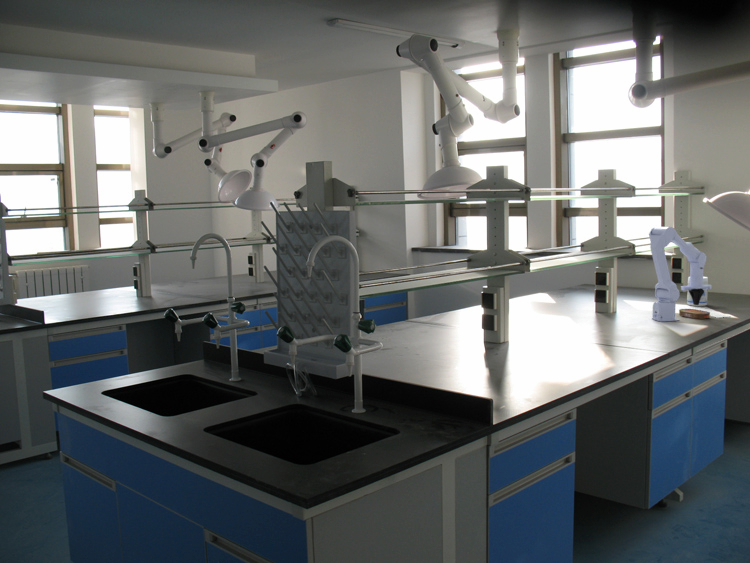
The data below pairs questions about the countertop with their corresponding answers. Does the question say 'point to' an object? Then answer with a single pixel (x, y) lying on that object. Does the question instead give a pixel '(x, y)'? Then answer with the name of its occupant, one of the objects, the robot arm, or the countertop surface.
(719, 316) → the mat
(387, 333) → the countertop surface
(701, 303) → the supplement tub
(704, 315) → the tin
